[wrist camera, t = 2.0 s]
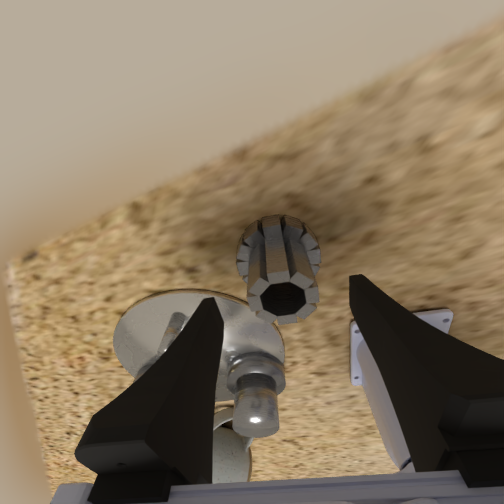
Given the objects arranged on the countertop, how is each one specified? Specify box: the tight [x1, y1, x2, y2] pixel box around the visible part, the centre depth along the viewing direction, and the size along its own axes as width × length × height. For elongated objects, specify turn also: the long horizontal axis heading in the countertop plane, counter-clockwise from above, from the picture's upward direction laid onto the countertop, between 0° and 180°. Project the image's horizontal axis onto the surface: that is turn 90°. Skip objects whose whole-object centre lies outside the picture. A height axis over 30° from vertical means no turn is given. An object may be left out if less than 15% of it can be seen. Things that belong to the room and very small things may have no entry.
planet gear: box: [236, 215, 321, 325], centre depth 15 cm, size 6×6×5 cm
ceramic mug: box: [212, 407, 254, 484], centre depth 28 cm, size 11×8×8 cm
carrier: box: [113, 289, 286, 438], centre depth 21 cm, size 16×16×6 cm
